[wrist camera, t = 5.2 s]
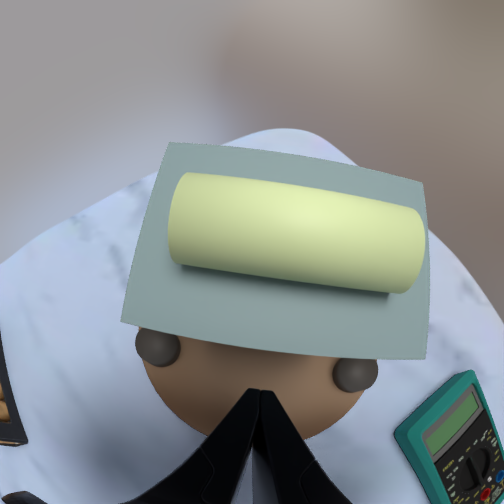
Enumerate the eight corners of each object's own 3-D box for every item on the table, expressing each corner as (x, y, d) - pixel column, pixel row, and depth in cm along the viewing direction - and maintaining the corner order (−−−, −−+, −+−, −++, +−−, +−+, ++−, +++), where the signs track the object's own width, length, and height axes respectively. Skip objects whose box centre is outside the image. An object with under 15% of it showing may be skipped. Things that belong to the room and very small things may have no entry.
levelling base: (356, 445, 14) (400, 454, 9) (130, 415, 14) (89, 414, 9) (361, 254, 21) (390, 208, 16) (180, 228, 21) (167, 176, 17)
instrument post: (317, 346, 14) (465, 361, 3) (204, 330, 14) (84, 315, 4) (325, 273, 15) (450, 153, 4) (216, 258, 16) (154, 103, 5)
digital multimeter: (442, 542, 8) (463, 550, 5) (386, 430, 14) (409, 430, 12) (497, 485, 10) (519, 485, 7) (452, 371, 16) (476, 362, 14)
